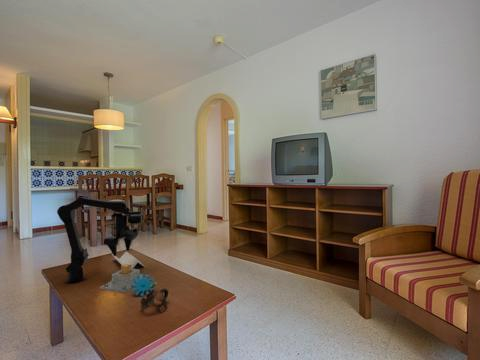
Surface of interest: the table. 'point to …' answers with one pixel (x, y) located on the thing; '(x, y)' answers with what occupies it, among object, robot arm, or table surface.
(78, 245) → the robot arm
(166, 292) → the dark brown loop tangle
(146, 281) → the gear
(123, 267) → the wedge pin
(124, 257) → the z bracket
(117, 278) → the bracket collar
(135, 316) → the table surface
